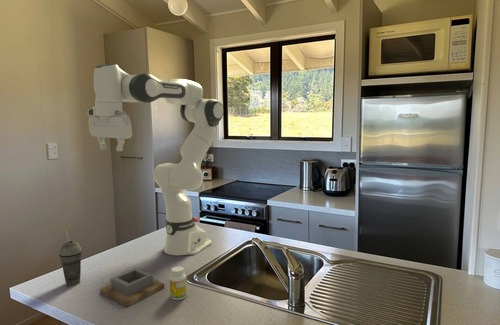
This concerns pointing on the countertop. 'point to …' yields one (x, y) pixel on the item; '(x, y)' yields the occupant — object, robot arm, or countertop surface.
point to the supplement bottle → (178, 283)
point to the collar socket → (131, 287)
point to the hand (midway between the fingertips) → (111, 150)
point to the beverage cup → (71, 261)
